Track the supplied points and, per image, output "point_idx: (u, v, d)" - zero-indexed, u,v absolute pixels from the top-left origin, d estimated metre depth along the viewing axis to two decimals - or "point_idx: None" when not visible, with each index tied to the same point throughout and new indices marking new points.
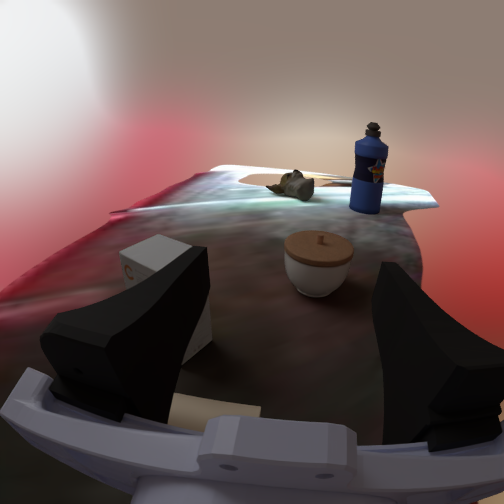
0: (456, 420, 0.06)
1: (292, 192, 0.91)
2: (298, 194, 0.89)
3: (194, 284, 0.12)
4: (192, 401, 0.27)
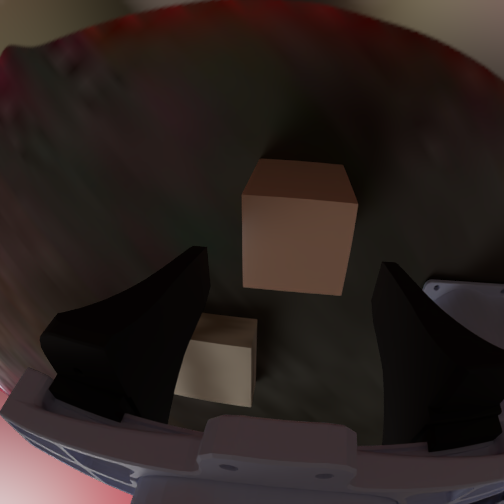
0: (456, 420, 0.06)
1: None
2: None
3: (194, 284, 0.12)
4: None
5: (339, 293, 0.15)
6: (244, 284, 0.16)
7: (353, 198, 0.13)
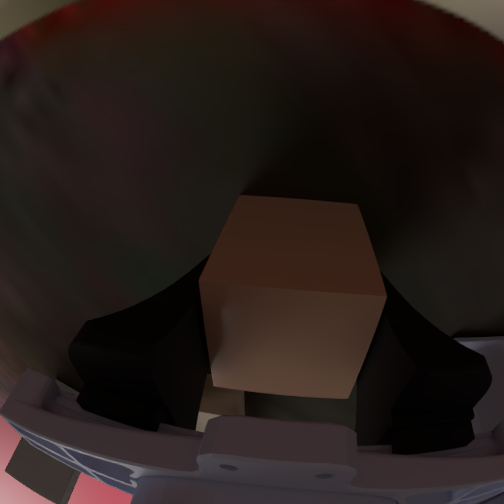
0: (422, 424, 0.06)
1: None
2: None
3: None
4: None
5: (345, 396, 0.10)
6: (215, 383, 0.11)
7: (379, 283, 0.08)
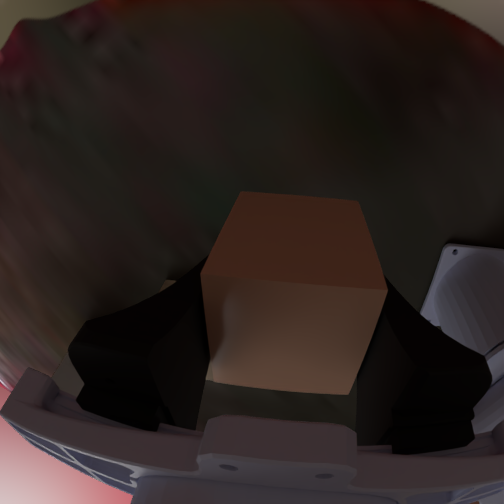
0: (422, 424, 0.06)
1: None
2: None
3: None
4: None
5: (346, 392, 0.10)
6: (215, 379, 0.11)
7: (379, 277, 0.08)
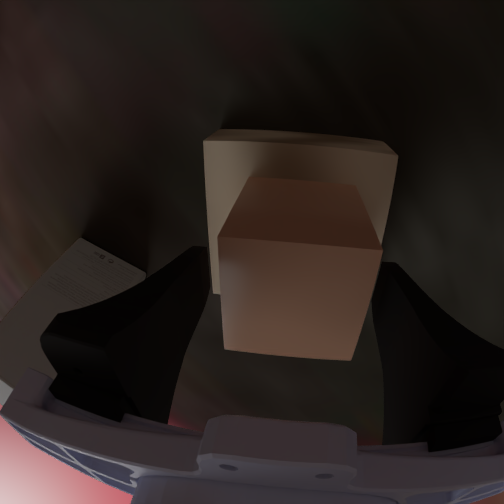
0: (456, 420, 0.06)
1: None
2: None
3: (194, 284, 0.12)
4: None
5: (348, 358, 0.11)
6: (226, 346, 0.12)
7: (375, 241, 0.09)
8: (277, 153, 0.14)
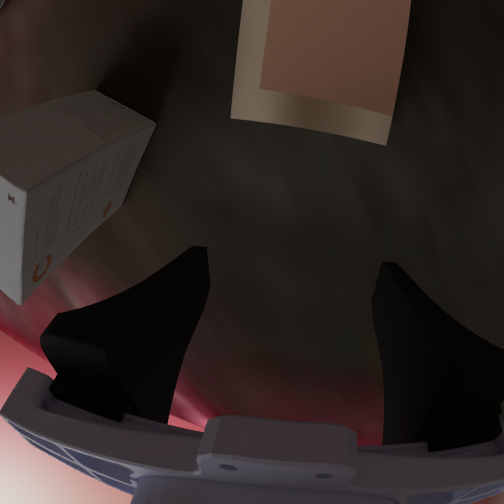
0: (456, 420, 0.06)
1: None
2: None
3: (194, 284, 0.12)
4: (245, 76, 0.15)
5: (390, 112, 0.10)
6: (261, 84, 0.10)
7: (403, 0, 0.08)
8: None
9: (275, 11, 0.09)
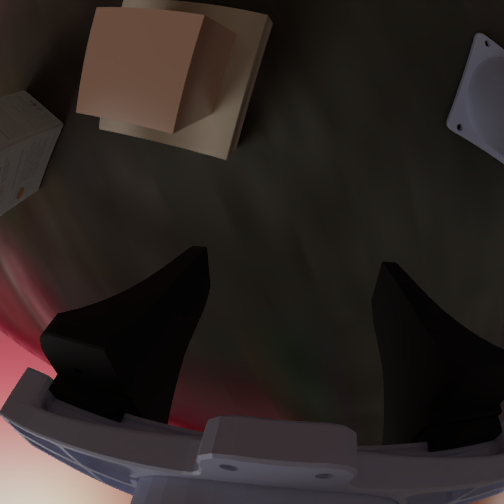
0: (456, 420, 0.06)
1: None
2: None
3: (194, 284, 0.12)
4: None
5: (170, 130, 0.12)
6: (77, 109, 0.11)
7: (205, 16, 0.09)
8: (171, 7, 0.13)
9: (90, 46, 0.10)
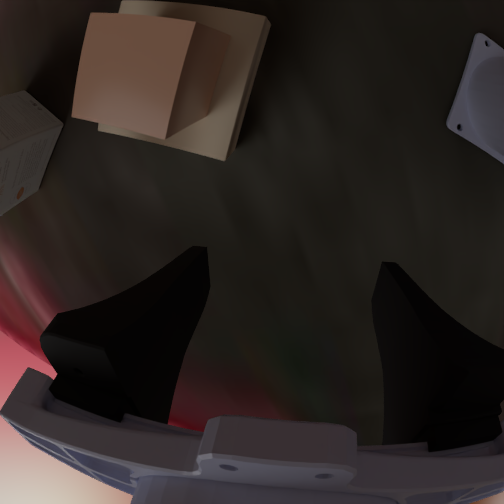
0: (456, 420, 0.06)
1: None
2: None
3: (194, 284, 0.12)
4: None
5: (163, 136, 0.12)
6: (73, 113, 0.12)
7: (197, 23, 0.10)
8: (169, 9, 0.13)
9: (84, 52, 0.10)
